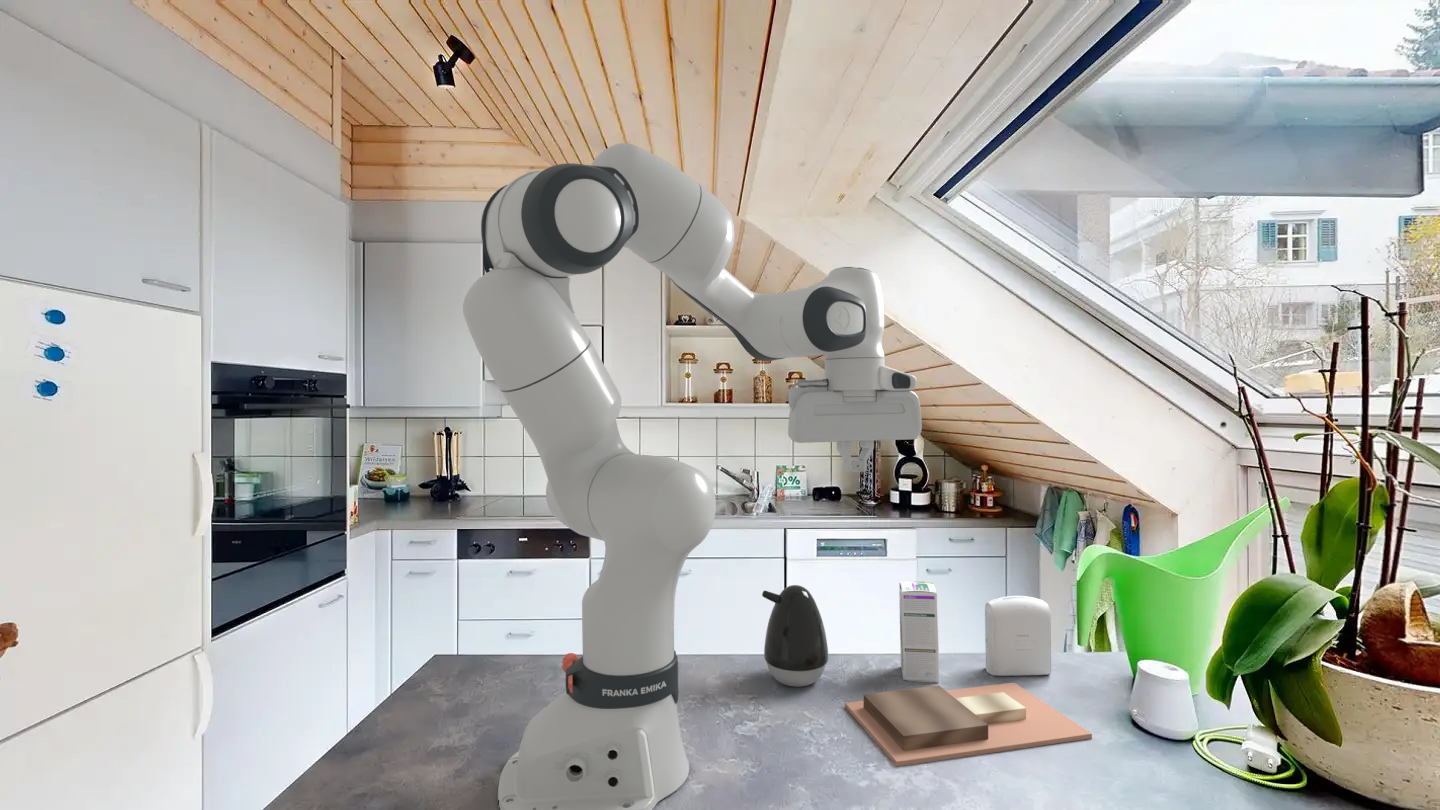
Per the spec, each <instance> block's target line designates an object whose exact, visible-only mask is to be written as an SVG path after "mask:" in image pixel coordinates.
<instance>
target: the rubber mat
mask: <svg viewBox="0 0 1440 810" xmlns="http://www.w3.org/2000/svg"><path fill="white" fill-rule="evenodd" d="M945 691H946V692H948V693H949V694H950V695H952V696H953V697H954V698H961V697H969V696H977V695H985V694H994V693H1002V692H1004V693H1005V694H1007V695H1008V696H1010V697H1011V698H1012V699H1014V700H1015V701H1017V702H1018V703H1020V704H1021V705H1022V706H1024V707H1025V708H1026V719H1021V720H1014V721H1006V722H999V723H991V724H988V739H987V740H979V741H972V742H965V743H958V744H951V745H944V746H937V747H929V748H922V749H915V750H908V751H903V750H902V748H901V747H900V746H899V745H898V744H897V743H896V742H895V741H894V740H893V739H892V738H891V737H890V736H889V734H888V733H887V732H886V731H885V730H884V729H883V728H882V727H881V726H880V725H879V724H878V723H877V721H876V720H875V719H874V718H873V717H872V716H871V715H870V714H869V713H868V712H867V711H866V710H865V709H864V700H859V701H858V700H857V701H851V702H849V701H848V702H845V703H844V708H846V710H847V711H848V712H849V713H850V715H851V716H852V717H853V718H854V719H855V721H857V722H858V723H859V725H860V726H861V727H862V728H863V729H864V731H865V732H866V733H867V734H868V735H869V737H870V738H871V739H873V741H874V742H875V743H876V744H877V746H878V747H879V748H880V749H881V750H882V751H883V753H885V755H886V756H887V757H888V759H890V760H891V762H892V763H893V764H894V765H895V766H896V767H903V766H909V765H916V764H923V763H930V762H931V763H932V762H936V761H944V760H951V759H958V758H965V757H971V756H972V757H973V756H979V755H985V754H992V753H993V754H994V753H999V752H1006V751H1013V750H1014V751H1015V750H1021V749H1027V748H1034V747H1039V746H1047V745H1055V744H1061V743H1068V742H1074V741H1075V742H1076V741H1081V740H1089V739H1093V733H1092V732H1090V731H1088V730H1087V729H1086V728H1084V727H1083V726H1081V725H1079V724H1078V723H1076V722H1075V721H1074V720H1072V719H1070V718H1069V717H1067V716H1066V715H1064V714H1063V713H1061V712H1059V711H1058V710H1057V709H1055V708H1053V707H1052V706H1051V705H1049V704H1047V703H1046V702H1045V701H1042V700H1041V699H1040V698H1038V697H1036V696H1035V695H1034V694H1033V693H1032V692H1031V693H1030V692H1029V691H1028V690H1026V689H1025V688H1023V687H1022V686H1021V685H1018V684H1017V683H1015V682H1007V683H999V684H991V685H983V686H982V685H980V686H974V687H967V688H966V687H965V688H964V687H963V688H957V689H956V688H955V689H949V690H945Z"/></svg>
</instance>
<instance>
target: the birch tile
mask: <svg viewBox="0 0 1440 810" xmlns="http://www.w3.org/2000/svg"><path fill="white" fill-rule="evenodd" d="M955 699H957V700H958V701H959V702H960V703H962V704H963V705H964V706H965V707H967V708H968V709H969V710H970V711H972V712H973V713H974V714H975V715H977V716H978V717H979V718H980V719H982V720H983V721H984V722H985V723H987V724H991V723H999V722H1006V721H1014V720H1021V719H1026V708H1025V707H1024V706H1022V705H1021V704H1020V703H1018V702H1017V701H1015V700H1014V699H1012V698H1011V697H1010V696H1008V695H1007V694H1005V693H1004V692H1002V693H994V694H985V695H977V696H969V697H961V698H955Z"/></svg>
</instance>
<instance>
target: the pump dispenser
mask: <svg viewBox="0 0 1440 810" xmlns="http://www.w3.org/2000/svg"><path fill="white" fill-rule="evenodd" d="M761 596H762V597H763V598H765V599H766V600H769V601H770V602H772V603H774V605H773V607H772V610H771V612H770V614H769V619H768V623H767V627H766V632H765V638H764V639H765V640H764V648H763V651H764V653H763V657H764V660H765V662H766V664H767V667H768V671H769V672H770V674H771V675H772V677H773V678H774V679H775V680H776V681H778V682H779V683H781V684H783V685H785V686H789V687H793V686H794V688H799V687H801V688H802V687H806V686H810V685H812V684H814V683H816V682H817V681H818V680H819V679H820V678H821V676H822V675H823V673H824V671H825V670H826V669H825V668H826V665H827V663H828V661H829V647H828V639H827V635H826V630H825V625H824V622H823V618H822V615H821V613H820V610H819V607H818V605H817V603H816V600H815V598H814V597H813V595H812V594H811V592H810V591H809V590H808V589H807V588H805V587H803V586H802V585H800V584H799V585H797V584H793V585H788V586H786V587H785V588H784V589H783V590H782V591H780V593H779V594H778V593H774V592H771V591H769V590H763V591H762V594H761Z"/></svg>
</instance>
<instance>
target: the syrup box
mask: <svg viewBox="0 0 1440 810" xmlns="http://www.w3.org/2000/svg"><path fill="white" fill-rule="evenodd" d="M898 588H899V631H900V633H899V640H900V646H899V647H900V669H901V675H902V680H903V681H910V682H918V683H919V682H920V683H940V655H939V654H940V651H939V649H940V648H939V645H940V644H939V619H938V618H939V616H938V592H937V590H936V587H935V584H934V582H929V581H927V582H926V581H918V580H916V581H915V580H911V581H910V580H909V581H908V580H907V581H899V587H898Z"/></svg>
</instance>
